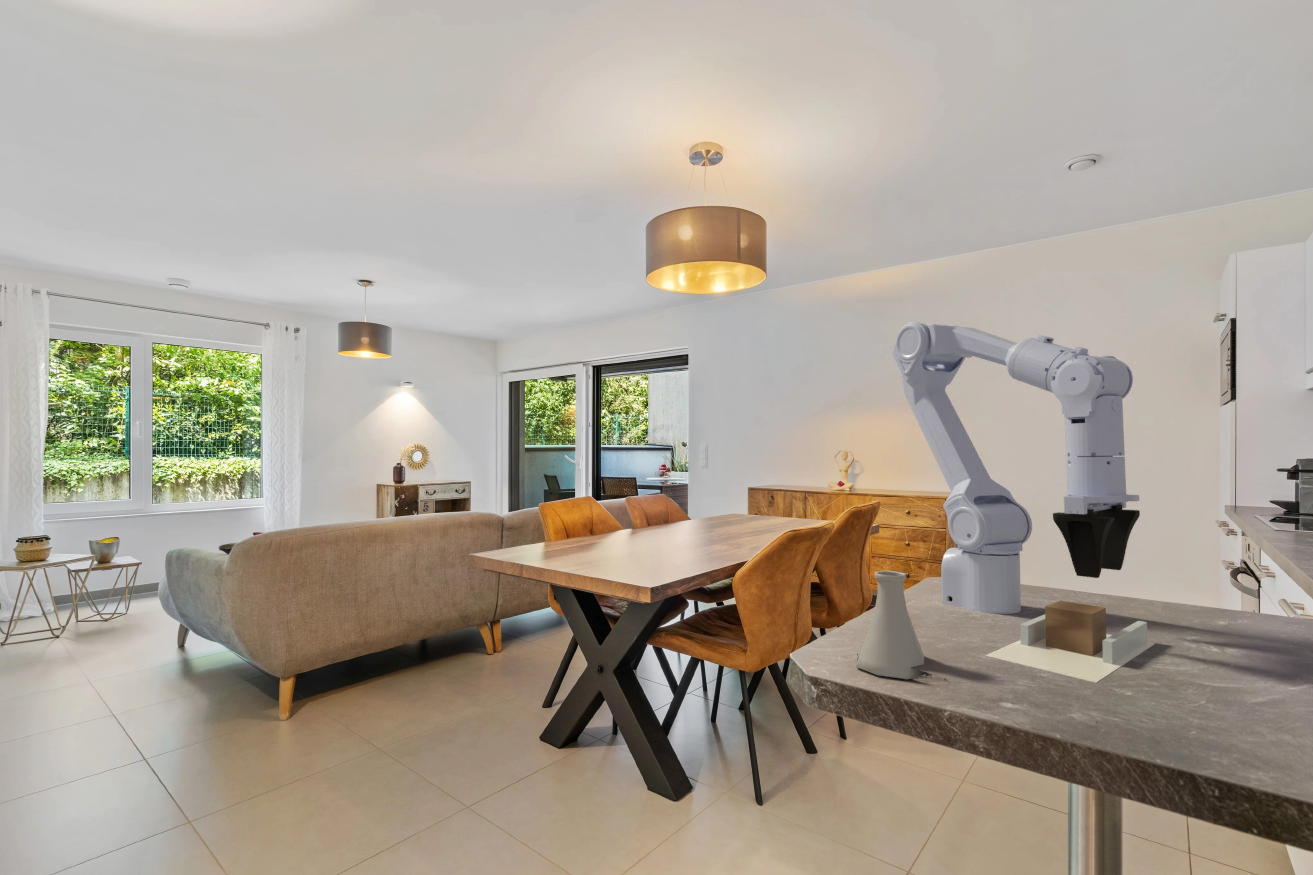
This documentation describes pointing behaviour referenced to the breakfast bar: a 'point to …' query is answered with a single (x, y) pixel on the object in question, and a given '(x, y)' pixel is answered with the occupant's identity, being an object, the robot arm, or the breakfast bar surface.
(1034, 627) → the trap channel
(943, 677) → the breakfast bar surface
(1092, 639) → the walnut block
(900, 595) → the flask
